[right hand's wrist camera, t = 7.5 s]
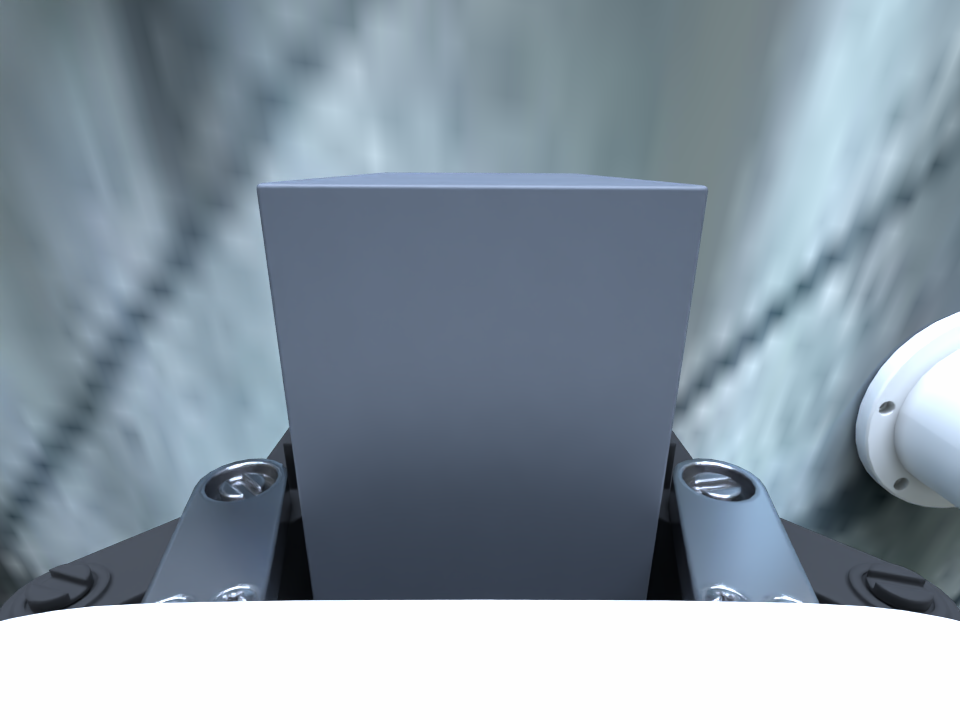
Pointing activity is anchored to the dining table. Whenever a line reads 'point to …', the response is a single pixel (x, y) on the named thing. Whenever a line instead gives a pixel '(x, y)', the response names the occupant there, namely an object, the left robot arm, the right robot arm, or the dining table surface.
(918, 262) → the dining table surface
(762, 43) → the dining table surface
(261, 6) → the dining table surface
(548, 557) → the bar
